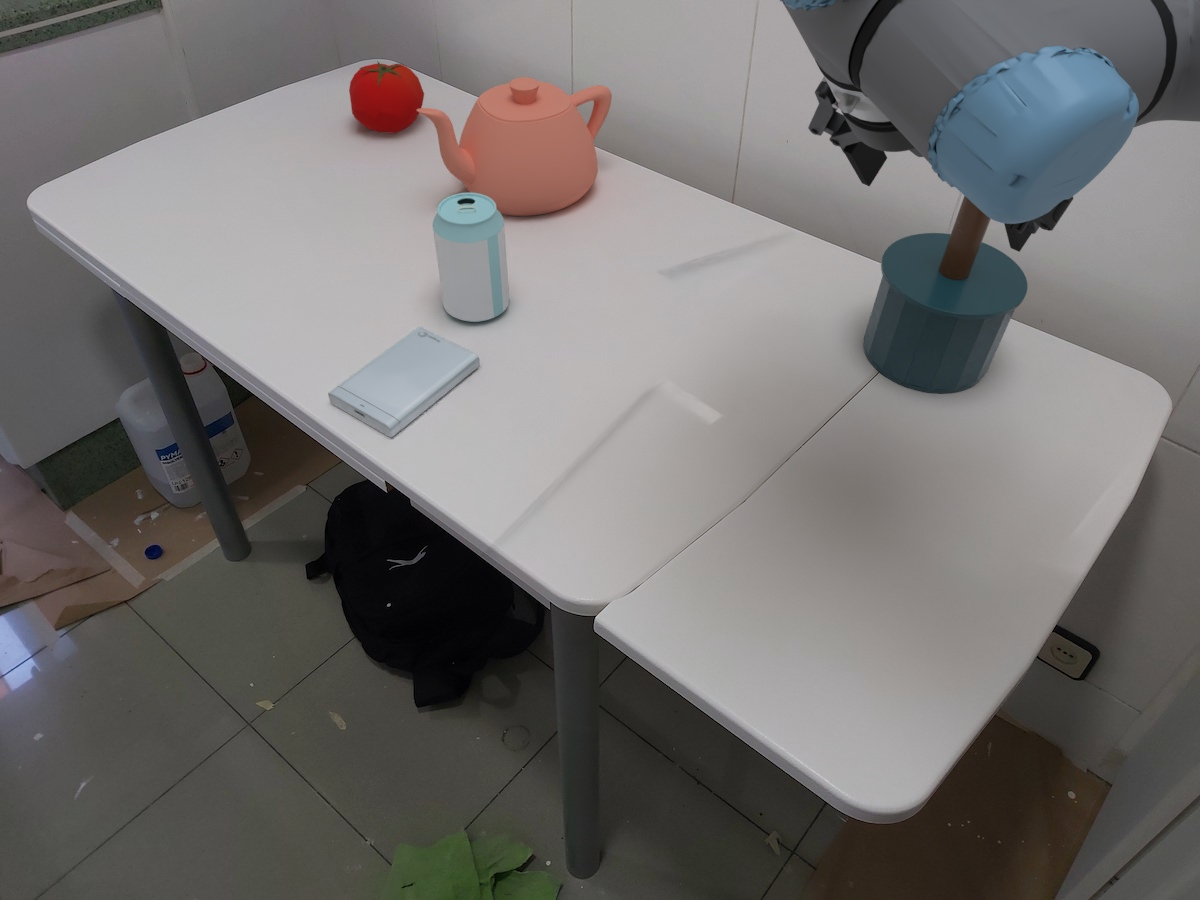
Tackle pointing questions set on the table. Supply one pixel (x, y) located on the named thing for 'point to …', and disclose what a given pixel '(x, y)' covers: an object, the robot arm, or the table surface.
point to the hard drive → (404, 381)
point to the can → (471, 257)
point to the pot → (929, 344)
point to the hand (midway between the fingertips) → (946, 201)
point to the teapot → (525, 145)
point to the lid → (955, 270)
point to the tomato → (385, 97)
